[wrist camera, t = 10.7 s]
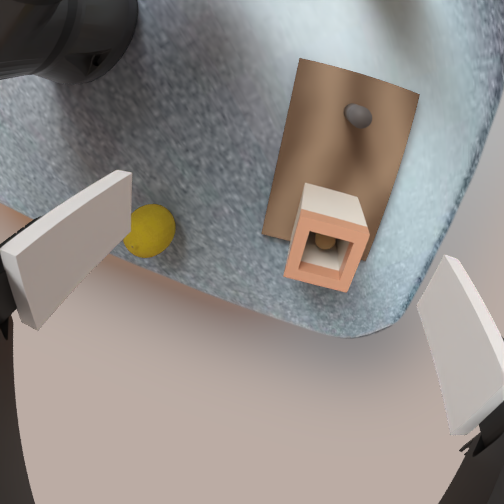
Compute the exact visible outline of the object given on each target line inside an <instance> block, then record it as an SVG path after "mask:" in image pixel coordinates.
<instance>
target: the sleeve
mask: <svg viewBox="0 0 504 504" xmlns="http://www.w3.org/2000/svg"><path fill="white" fill-rule="evenodd" d="M315 232H316V233H319V234H323V235H327V236H330V237H334V238H335V239H336V241H335V244H334V246H333V247H331V248H330V249H321V248H319V247H318V246H317V245H316V242H315ZM369 236H370V234H369V230H368V227H367V224H366V221H365V218H364V214H363V211H362V208H361V205H360V202H359V199H358V197H356V196H352V195H349V194H345V193H342V192H338V191H335V190H331V189H327V188H324V187H320V186H316V185H312V184H309V183H305V185H304V188H303V192H302V196H301V200H300V204H299V208H298V212H297V215H296V219H295V223H294V227H293V230H292V235H291V241H290V246H289V251H288V256H287V261H286V266H285V271H284V276H283V277H287V278H291V279H295V280H299V281H303V282H307V283H310V284H314V285H318V286H322V287H326V288H330V289H334V290H338V291H342V292H346V293H347V291H348V289H349V287H350V284H351V282H352V279H353V277H354V274H355V272H356V270H357V267H358V265H359V262H360V260H361V257H362V254H363V252H364V249H365V247H366V244H367V242H368V239H369Z"/></svg>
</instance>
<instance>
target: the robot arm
mask: <svg viewBox="0 0 504 504" xmlns="http://www.w3.org/2000/svg"><path fill="white" fill-rule="evenodd" d="M136 21H137V1H136V0H0V80H2V79H7V78H13V77H18V76H24V75H32V74H34V75H37V76H39V77H42V78H45V79H48V80H51V81H54V82H56V83H60V84H79V83H86V82H90V81H92V80H95V79H97V78H99V77H100V76H102V75H103V74H105V73H106V72H107V71H109V70H110V69H111V68H112V67H113V66H114V65H115V64H116V63H117V61H118V60H119V59H120V58H121V56H122V55H123V53H124V52H125V50H126V48H127V47H128V45H129V43H130V41H131V38H132V36H133V33H134V30H135V26H136ZM131 192H132V173H131V172H126V171H121V170H115V171H114V172H112V173H110V174H109V175H107V176H105V177H103V178H102V179H100V180H98V181H97V182H95V183H93V184H92V185H90V186H89V187H87V188H85V189H84V190H82V191H81V192H79V193H77V194H76V195H74V196H73V197H71V198H70V199H68V200H66V201H65V202H63V203H62V204H60V205H59V206H57V207H56V208H54V209H53V210H51V211H50V212H49V213H47V214H46V215H43V216H41V217H38V218H36V219H34V220H32V221H31V222H30V223H28V224H27V225H25V228H24V227H23V228H21V229H20V230H19V231H17V233H14V234H13V235H12V236H11V237H9V238H8V239H7V240H5V241H4V242H3V243H1V244H0V504H35V502H34V499H33V495H32V491H31V488H30V484H29V479H28V475H27V471H26V466H25V461H24V456H23V451H22V445H21V439H20V433H19V426H18V418H17V409H16V399H15V387H14V369H13V320H12V316H11V314H12V312H14V311H15V310H16V309H17V311H18V313H19V316H20V319H21V322H22V323H24V324H26V325H28V326H30V327H32V328H33V329H35V330H39V329H40V328H41V327H42V325H43V324H44V323H45V322H46V321H47V320H48V318H49V317H50V316H51V315H52V314H53V313H54V312H55V310H56V309H57V308H58V307H59V306H60V305H61V304H62V303H63V301H64V300H65V299H66V298H67V297H68V296H69V294H71V293H72V291H73V290H74V289H75V288H76V287H77V286H78V285H79V284H80V283H81V282H82V281H83V280H84V278H85V277H86V276H87V275H88V274H89V273H90V272H91V271H92V270H93V269H94V268H95V267H96V266H97V265H98V264H99V263H100V262H101V261H102V260H103V259H104V257H106V256H107V255H108V254H109V253H110V252H111V251H112V250H113V249H114V248H115V247H116V246H117V245H118V244H119V243H120V242H121V241H122V240H123V239H124V238H125V237H126V236H127V235H128V234H129V233H130V232H131ZM416 306H417V309H418V312H419V315H420V318H421V321H422V324H423V327H424V330H425V334H426V337H427V340H428V344H429V347H430V351H431V354H432V358H433V361H434V365H435V369H436V372H437V376H438V380H439V384H440V388H441V392H442V397H443V401H444V405H445V410H446V415H447V420H448V425H449V430H450V435H467V434H468V433H469V432H471V431H472V430H473V429H474V428H475V427H477V426H478V425H479V427H480V431H481V432H480V433H479V434H478V435H476V436H475V437H474V438H473V439H472V440H470V441H469V442H468V443H466V444H465V445H464V446H463V447H462V448H461V449H460V450H459V451H461V452H462V451H463V450H465V449H466V448H469V450H468V452H466V453H465V454H464V455H465V458H464V460H463V462H462V464H461V465H460V468H459V469H458V471H457V473H456V475H455V477H454V478H453V480H452V482H451V484H450V486H449V487H448V489H447V490H446V492H445V494H444V495H443V497H442V499H441V500H440V502H439V504H504V338H503V337H502V336H501V335H500V333H499V331H498V329H497V327H496V325H495V323H494V321H493V319H492V317H491V315H490V313H489V311H488V310H487V308H486V306H485V304H484V302H483V300H482V298H481V297H480V295H479V293H478V291H477V290H476V288H475V286H474V285H473V283H472V281H471V279H470V278H469V276H468V274H467V273H466V271H465V270H464V268H463V266H462V265H461V263H460V262H459V260H458V259H456V258H453V257H450V256H447V255H444V256H443V258H442V260H441V262H440V264H439V266H438V268H437V270H436V271H435V273H434V275H433V277H432V279H431V281H430V282H429V284H428V286H427V288H426V290H425V291H424V293H423V295H422V297H421V298H420V300H419V302H418V304H417V305H416Z"/></svg>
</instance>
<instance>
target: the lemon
mask: <svg viewBox="0 0 504 504" xmlns="http://www.w3.org/2000/svg"><path fill="white" fill-rule="evenodd" d="M175 229H176V228H175V221H174V218H173V216H172V214H171V213H170V211H169V210H167V209H166V208H165V207H163V206H161V205H157V204H148V205H144V206H142V207H139V208H138V209H136V210H135V211H134V212H133V213H132V214H131V232H130V233H129V234H128V235H127V236H126V237H125V238H124V239H123V242H124V244H125V246H126V248H127V249H128V250H129V251H130V252H131V253H132V254H134V255H135V256H138V257H142V258H149V257H153V256H155V255H158V254H160V253H161V252H162V251H164V250H165V249H166V248H167V247H168V246H169V245H170V243H171V241H172V240H173V238H174V234H175Z"/></svg>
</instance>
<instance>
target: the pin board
mask: <svg viewBox="0 0 504 504" xmlns="http://www.w3.org/2000/svg"><path fill="white" fill-rule="evenodd" d="M419 95H420V94H417V93H415V92H412V91H410V90H407V89H404V88H402V87H399V86H396V85H393V84H390V83H388V82H385V81H382V80H379V79H376V78H372V77H369V76H366V75H363V74H360V73H356V72H353V71H349V70H346V69H342V68H339V67H335V66H331V65H327V64H323V63H319V62H315V61H310V60H306V59H301V58H300V59H299V63H298V68H297V73H296V77H295V82H294V87H293V91H292V96H291V101H290V105H289V110H288V114H287V119H286V124H285V128H284V133H283V138H282V142H281V147H280V151H279V156H278V161H277V165H276V170H275V174H274V179H273V184H272V188H271V193H270V197H269V202H268V206H267V211H266V215H265V220H264V224H263V229H262V234H264V235H268V236H272V237H276V238H280V239H284V240H288V241H291V235H292V230H293V227H294V223H295V219H296V215H297V212H298V208H299V204H300V200H301V196H302V192H303V188H304V185H305V183H309V184H312V185H316V186H320V187H324V188H327V189H331V190H335V191H338V192H342V193H345V194H349V195H352V196H356V197H358V199H359V202H360V205H361V208H362V211H363V214H364V218H365V221H366V224H367V227H368V230H369V234H370V236H369V239H368V242H367V244H366V247H365V249H364V252H363V254H362V257H361V260H363V261H366V259H367V256H368V254H369V251H370V248H371V246H372V243H373V241H374V238H375V236H376V233H377V230H378V228H379V225H380V222H381V219H382V217H383V214H384V211H385V208H386V206H387V203H388V200H389V197H390V194H391V191H392V188H393V185H394V182H395V179H396V176H397V173H398V170H399V167H400V163H401V160H402V157H403V154H404V150H405V147H406V144H407V140H408V137H409V133H410V130H411V126H412V122H413V119H414V115H415V111H416V107H417V103H418V99H419ZM335 241H336V239H335V238H334V237H330V236H327V235H323V234H319V233H316V232H315V242H316V245H317V246H318V247H319V248H321V249H330V248H331V247H333V246H334V244H335Z"/></svg>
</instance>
